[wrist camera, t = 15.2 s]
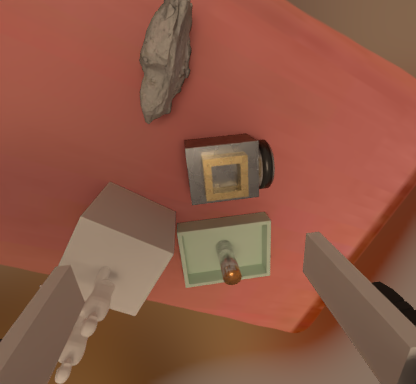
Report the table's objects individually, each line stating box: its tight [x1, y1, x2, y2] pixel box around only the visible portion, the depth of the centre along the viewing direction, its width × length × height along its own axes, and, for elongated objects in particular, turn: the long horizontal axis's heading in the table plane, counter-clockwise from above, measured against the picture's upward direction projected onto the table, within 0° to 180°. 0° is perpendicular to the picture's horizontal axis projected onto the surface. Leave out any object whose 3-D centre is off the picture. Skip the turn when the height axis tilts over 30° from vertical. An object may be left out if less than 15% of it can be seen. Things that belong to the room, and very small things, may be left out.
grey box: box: [40, 182, 176, 384], centre depth 39 cm, size 15×18×25 cm
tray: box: [177, 212, 271, 288], centre depth 53 cm, size 20×15×4 cm
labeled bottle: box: [216, 240, 242, 285], centre depth 50 cm, size 4×4×10 cm
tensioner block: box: [184, 134, 275, 205], centre depth 42 cm, size 15×10×10 cm, turn 95°
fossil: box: [139, 0, 193, 124], centre depth 33 cm, size 17×7×15 cm, turn 159°
